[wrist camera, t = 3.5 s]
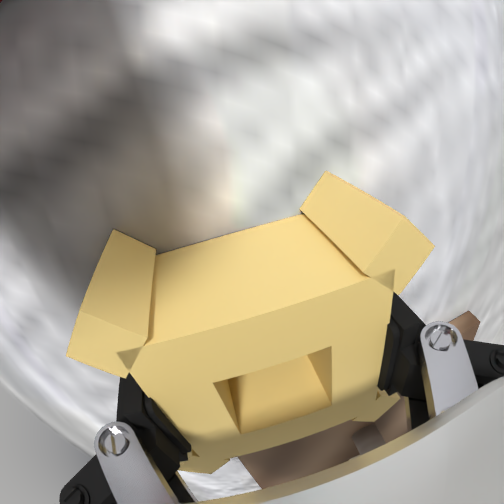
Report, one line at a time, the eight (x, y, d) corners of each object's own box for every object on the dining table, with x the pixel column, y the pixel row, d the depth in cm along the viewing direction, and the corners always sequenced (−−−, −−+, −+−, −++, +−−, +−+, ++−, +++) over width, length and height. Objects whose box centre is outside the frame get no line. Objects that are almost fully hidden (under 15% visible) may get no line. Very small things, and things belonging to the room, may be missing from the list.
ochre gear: (354, 164, 9) (438, 205, 6) (356, 349, 14) (396, 410, 10) (84, 238, 9) (40, 320, 5) (178, 403, 13) (186, 478, 9)
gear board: (468, 310, 15) (529, 372, 10) (406, 450, 27) (427, 487, 21) (216, 412, 14) (241, 524, 8) (276, 501, 25) (291, 545, 20)
